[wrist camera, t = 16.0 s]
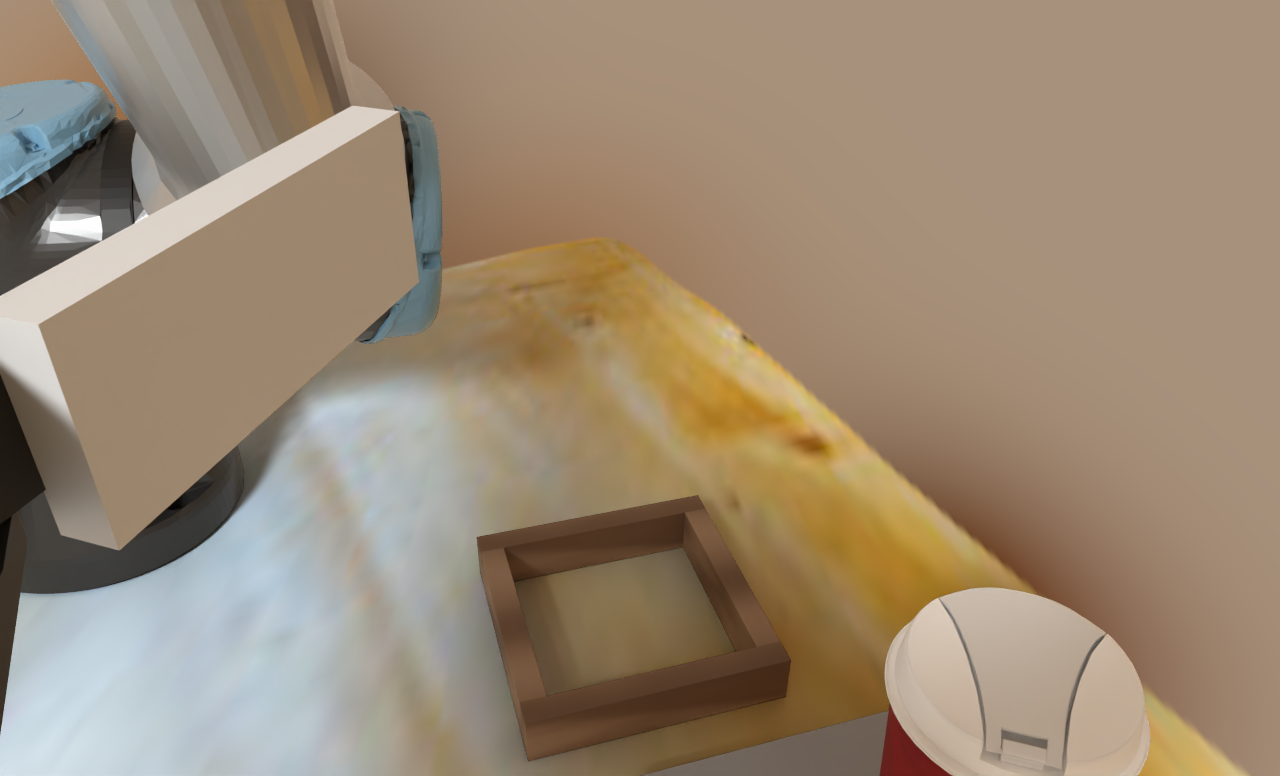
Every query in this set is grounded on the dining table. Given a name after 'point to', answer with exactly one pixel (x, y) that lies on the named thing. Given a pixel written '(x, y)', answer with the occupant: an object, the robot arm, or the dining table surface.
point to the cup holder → (645, 696)
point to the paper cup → (1010, 692)
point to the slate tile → (802, 754)
